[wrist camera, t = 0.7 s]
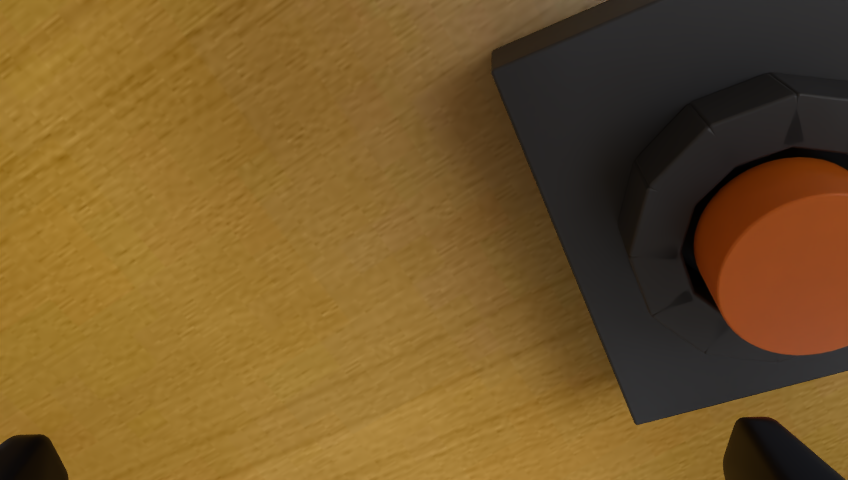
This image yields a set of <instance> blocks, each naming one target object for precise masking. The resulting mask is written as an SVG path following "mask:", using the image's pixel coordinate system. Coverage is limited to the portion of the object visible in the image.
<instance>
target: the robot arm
mask: <svg viewBox="0 0 848 480" xmlns="http://www.w3.org/2000/svg"><path fill="white" fill-rule="evenodd" d="M723 470H724V476H725V480H845V479H844V478H843V477H842V476H841V475H839V474H838V473H837V472H836V471H835V470H834V469H832V468H831V467H830V466H829V465H828V464H827V463H825V462H824V461H823V460H822V459H821V458H820V457H818V456H817V455H816V454H815V453H814V452H812V451H811V450H810V449H809V448H808V447H807V446H805V445H804V444H803V443H802V442H801V441H800V440H798V439H797V438H796V437H795V436H794V435H793V434H791V433H790V432H789V431H788V430H787V429H786V428H784V427H783V426H782V425H781V424H780V423H778V422H777V421H776V420H774V419H772V418H769V417H743V418H740V419H738V420H737V421H736V423H735V425H734V427H733V430H732V434H731V437H730V440H729V443H728V446H727V449H726V452H725V455H724V459H723ZM0 480H68V474H67V471H66V469H65V467H64V465H63V463H62V461H61V459H60V457H59V455H58V453H57V452H56V450H55V448H54V446H53V444H52V442H51V440H50V439H49V438H48V437H46V436H45V435H41V434H36V435H16V436H13V437H11V438H9V439H7V440H6V441H4V442H3V443H2V444H1V445H0Z"/></svg>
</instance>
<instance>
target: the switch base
mask: <svg viewBox="0 0 848 480" xmlns="http://www.w3.org/2000/svg"><path fill="white" fill-rule="evenodd" d="M491 74H492V76H493V79H494V81H495V84H496V86H497V89H498V91H499V93H500V96H501V98H502V101H503V103H504V106H505V108H506V111H507V113H508V115H509V118H510V120H511V123H512V125H513V128H514V130H515V133H516V135H517V137H518V140H519V142H520V145H521V147H522V150H523V152H524V154H525V157H526V159H527V162H528V164H529V167H530V169H531V172H532V174H533V176H534V179H535V181H536V184H537V186H538V189H539V191H540V194H541V196H542V198H543V201H544V203H545V206H546V208H547V211H548V213H549V215H550V218H551V220H552V223H553V225H554V228H555V230H556V233H557V235H558V237H559V240H560V242H561V245H562V247H563V250H564V252H565V255H566V257H567V259H568V262H569V264H570V267H571V269H572V272H573V274H574V277H575V279H576V281H577V284H578V286H579V289H580V291H581V294H582V296H583V298H584V301H585V303H586V306H587V308H588V311H589V313H590V316H591V318H592V320H593V323H594V325H595V328H596V330H597V333H598V335H599V338H600V340H601V342H602V345H603V347H604V350H605V352H606V355H607V357H608V360H609V362H610V364H611V367H612V369H613V372H614V374H615V377H616V379H617V381H618V384H619V386H620V389H621V391H622V394H623V396H624V399H625V401H626V403H627V406H628V408H629V411H630V413H631V416H632V418H633V421H634V423H635V424H636V425H639V424H643V423H647V422H651V421H655V420H659V419H663V418H667V417H670V416H674V415H678V414H682V413H686V412H690V411H694V410H697V409H701V408H705V407H709V406H713V405H717V404H721V403H725V402H728V401H732V400H736V399H740V398H744V397H748V396H752V395H755V394H759V393H763V392H767V391H771V390H775V389H779V388H783V387H786V386H790V385H794V384H798V383H802V382H806V381H810V380H813V379H817V378H821V377H825V376H829V375H833V374H837V373H840V372H844V371H848V346H846V347H843V348H840V349H837V350H834V351H830V352H825V353H821V354H813V355H785V354H779V353H774V352H770V351H767V350H763V349H761V348H758V347H756V346H754V345H752V344H750V343H748V342H747V341H745V340H744V339H742V338H741V337H739V336H738V335H737V334H736V333H735V332H734V331H733V330H732V329H731V328H730V327H729V326H728V324H727V323H726V321H725V320H724V318H723V316H722V315H721V313H720V311H719V309H718V307H717V305H716V303H715V301H714V299H713V297H712V295H711V293H710V291H709V289H708V287H707V285H706V283H705V281H704V280H703V278H702V276H701V274H700V272H699V269H698V267H697V264H696V261H695V256H694V246H693V245H694V235H695V231H696V227H697V224H698V221H699V219H700V216H701V214H702V212H703V211H704V209H705V207H706V206H707V204H708V203H709V201H710V200H711V199H712V197H713V196H714V195H715V194H716V193H717V192H718V191H719V190H720V189H721V188H722V187H723V186H724V185H726V184H727V183H728V182H729V181H730V180H732V179H733V178H735V177H736V176H738V175H739V174H741V173H743V172H745V171H746V170H748V169H750V168H752V167H755V166H757V165H760V164H762V163H766V162H769V161H773V160H777V159H783V158H792V157H808V158H816V159H822V160H826V161H829V162H832V163H835V164H837V165H839V166H841V167H843V168H845V169H846V170H848V0H609V1H606V2H604V3H602V4H599V5H597V6H595V7H592V8H590V9H588V10H585V11H583V12H581V13H578V14H576V15H574V16H572V17H569V18H567V19H565V20H562V21H560V22H558V23H555V24H553V25H551V26H548V27H546V28H544V29H541V30H539V31H537V32H534V33H532V34H530V35H527V36H525V37H523V38H521V39H518V40H516V41H514V42H511V43H509V44H507V45H504V46H502V47H500V48H497V49H495V50H493V51H492V65H491Z"/></svg>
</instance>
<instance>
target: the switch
mask: <svg viewBox="0 0 848 480" xmlns="http://www.w3.org/2000/svg"><path fill="white" fill-rule="evenodd" d="M693 246H694V256H695V261H696V264H697V267H698V269H699V272H700V274H701V276H702V278H703V280H704V281H705V283H706V285H707V287H708V289H709V291H710V293H711V295H712V297H713V299H714V301H715V303H716V305H717V307H718V309H719V311H720V313H721V315H722V316H723V318H724V320H725V321H726V323H727V324H728V326H729V327H730V328H731V329H732V330H733V331H734V332H735V333H736V334H737V335H738V336H739V337H741V338H742V339H744V340H745V341H747V342H748V343H750V344H752V345H754V346H756V347H758V348H761V349H763V350H767V351H770V352H774V353H779V354H785V355H813V354H821V353H825V352H830V351H834V350H837V349H840V348H843V347H846V346H848V170H846V169H845V168H843V167H841V166H839V165H837V164H835V163H832V162H829V161H826V160H822V159H816V158H808V157H792V158H783V159H777V160H773V161H769V162H766V163H762V164H760V165H757V166H755V167H752V168H750V169H748V170H746V171H745V172H743V173H741V174H739V175H738V176H736V177H735V178H733V179H732V180H730V181H729V182H728V183H727V184H726V185H724V186H723V187H722V188H721V189H720V190H719V191H718V192H717V193H716V194H715V195H714V196H713V197H712V199H711V200H710V201H709V203H708V204H707V206H706V207H705V209H704V211H703V212H702V214H701V216H700V219H699V221H698V224H697V227H696V231H695V235H694V245H693Z"/></svg>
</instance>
